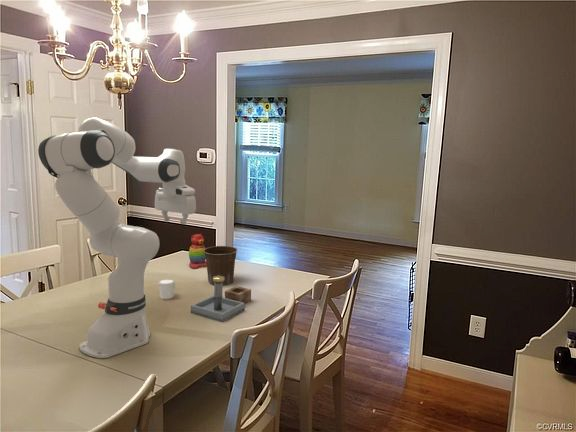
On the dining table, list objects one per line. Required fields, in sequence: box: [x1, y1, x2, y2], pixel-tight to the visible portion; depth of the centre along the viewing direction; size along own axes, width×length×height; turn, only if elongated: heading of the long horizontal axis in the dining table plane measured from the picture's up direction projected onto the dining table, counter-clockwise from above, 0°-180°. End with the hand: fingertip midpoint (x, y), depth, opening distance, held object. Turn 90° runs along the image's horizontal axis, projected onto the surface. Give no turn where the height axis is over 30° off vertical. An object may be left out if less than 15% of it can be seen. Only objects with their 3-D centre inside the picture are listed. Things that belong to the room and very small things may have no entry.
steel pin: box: [213, 276, 225, 310], centre depth 163 cm, size 5×5×13 cm
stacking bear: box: [188, 233, 207, 270], centre depth 225 cm, size 11×10×18 cm
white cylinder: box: [157, 278, 175, 300], centre depth 178 cm, size 7×7×7 cm
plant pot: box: [203, 245, 238, 286], centre depth 199 cm, size 16×16×16 cm
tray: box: [190, 295, 246, 323], centre depth 164 cm, size 14×16×3 cm
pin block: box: [224, 285, 252, 304], centre depth 175 cm, size 8×8×5 cm
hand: (175, 222), depth 167 cm, fingers open, 8 cm apart
